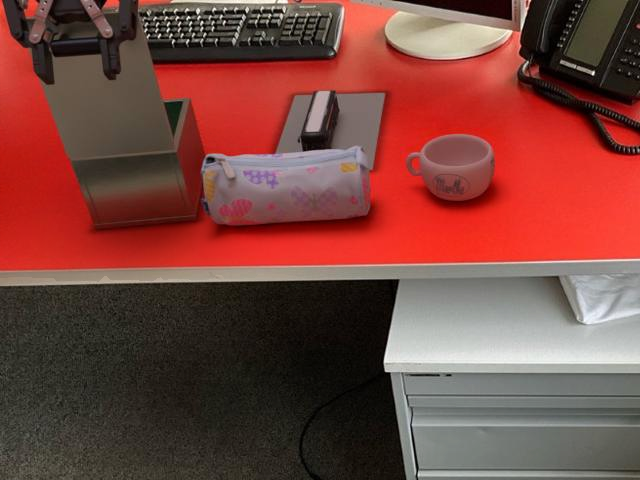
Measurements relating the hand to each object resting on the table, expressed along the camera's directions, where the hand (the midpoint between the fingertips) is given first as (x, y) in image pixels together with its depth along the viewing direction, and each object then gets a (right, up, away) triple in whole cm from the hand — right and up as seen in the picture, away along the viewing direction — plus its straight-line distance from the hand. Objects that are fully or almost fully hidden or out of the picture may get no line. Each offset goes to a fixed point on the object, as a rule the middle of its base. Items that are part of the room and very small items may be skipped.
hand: (79, 79), depth 96 cm
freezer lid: (-1, +2, +8) cm, 8 cm away
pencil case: (+18, -11, +21) cm, 30 cm away
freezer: (-2, -7, +25) cm, 26 cm away
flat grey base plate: (+20, +5, +39) cm, 44 cm away
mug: (+39, -7, +25) cm, 46 cm away
